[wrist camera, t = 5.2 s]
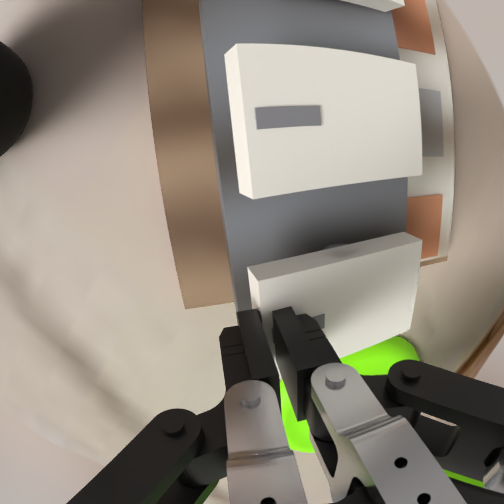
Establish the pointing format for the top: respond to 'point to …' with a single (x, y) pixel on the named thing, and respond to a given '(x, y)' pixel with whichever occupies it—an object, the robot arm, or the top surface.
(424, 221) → the switch unit
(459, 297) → the top surface
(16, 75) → the mug
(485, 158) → the top surface
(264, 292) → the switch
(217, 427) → the robot arm
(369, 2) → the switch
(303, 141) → the switch middle
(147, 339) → the top surface
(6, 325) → the top surface
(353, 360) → the wineglass
